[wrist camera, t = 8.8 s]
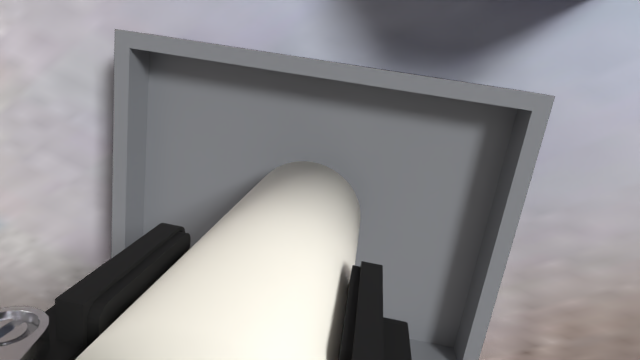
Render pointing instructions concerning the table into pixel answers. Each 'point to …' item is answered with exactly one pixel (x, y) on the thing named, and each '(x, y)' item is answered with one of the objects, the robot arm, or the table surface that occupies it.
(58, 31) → the table surface
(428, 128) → the tray
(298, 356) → the peg
